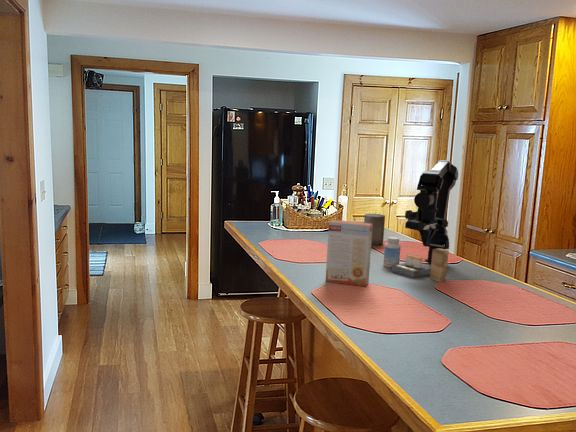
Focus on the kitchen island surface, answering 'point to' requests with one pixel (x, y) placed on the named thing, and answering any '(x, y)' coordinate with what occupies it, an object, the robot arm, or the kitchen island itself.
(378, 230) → the pillar candle
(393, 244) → the pill bottle
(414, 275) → the breaker panel
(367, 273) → the cracker box
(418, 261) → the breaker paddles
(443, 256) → the oak post
